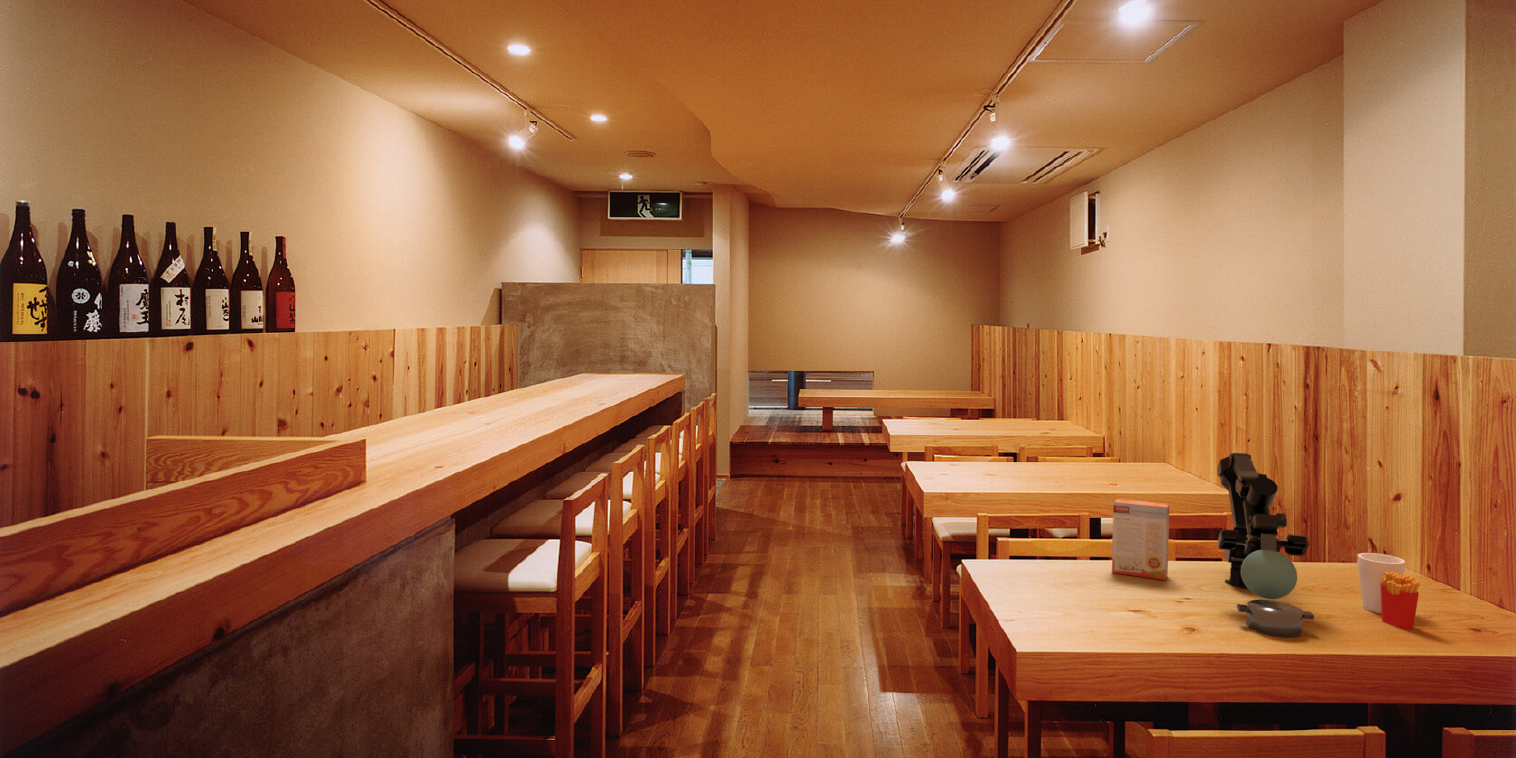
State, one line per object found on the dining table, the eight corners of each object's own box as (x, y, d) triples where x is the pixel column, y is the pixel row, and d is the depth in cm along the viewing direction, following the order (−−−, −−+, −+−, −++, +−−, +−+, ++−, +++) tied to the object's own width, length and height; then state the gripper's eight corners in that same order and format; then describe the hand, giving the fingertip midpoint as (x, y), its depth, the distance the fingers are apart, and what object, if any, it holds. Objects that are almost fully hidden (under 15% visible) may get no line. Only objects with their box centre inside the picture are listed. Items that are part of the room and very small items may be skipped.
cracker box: (1167, 575, 230) (1170, 503, 228) (1165, 581, 225) (1167, 507, 223) (1114, 567, 237) (1116, 497, 236) (1111, 573, 232) (1113, 501, 231)
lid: (1241, 596, 196) (1240, 595, 198) (1297, 601, 192) (1296, 601, 194) (1241, 532, 198) (1240, 532, 199) (1297, 536, 194) (1295, 536, 195)
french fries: (1374, 618, 196) (1377, 569, 195) (1389, 617, 197) (1391, 569, 196) (1408, 631, 188) (1410, 580, 187) (1422, 630, 188) (1425, 579, 188)
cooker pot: (1232, 615, 198) (1232, 595, 198) (1303, 623, 193) (1304, 602, 193) (1242, 632, 187) (1242, 611, 187) (1318, 641, 182) (1319, 619, 182)
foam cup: (1389, 618, 196) (1392, 565, 195) (1347, 606, 204) (1349, 556, 203) (1410, 612, 200) (1412, 560, 200) (1367, 600, 209) (1370, 551, 208)
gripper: (1221, 497, 204) (1228, 551, 195) (1308, 503, 198) (1319, 559, 188) (1215, 521, 212) (1221, 574, 203) (1298, 527, 206) (1308, 583, 196)
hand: (1266, 572), depth 197 cm, fingers closed
